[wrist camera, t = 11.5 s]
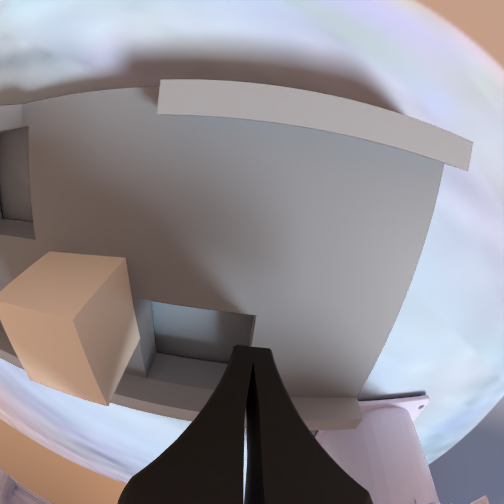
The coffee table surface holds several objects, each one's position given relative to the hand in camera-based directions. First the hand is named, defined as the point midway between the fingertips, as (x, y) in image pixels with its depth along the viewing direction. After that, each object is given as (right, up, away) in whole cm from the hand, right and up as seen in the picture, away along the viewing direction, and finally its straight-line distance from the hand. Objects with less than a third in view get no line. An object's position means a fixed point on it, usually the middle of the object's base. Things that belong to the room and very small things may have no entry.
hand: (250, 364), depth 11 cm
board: (-8, +5, +2) cm, 9 cm away
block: (-7, +2, +1) cm, 7 cm away
